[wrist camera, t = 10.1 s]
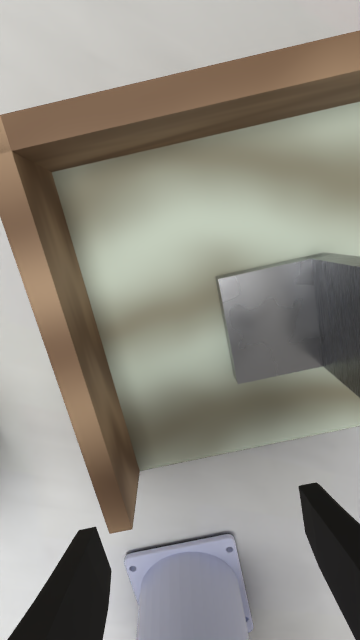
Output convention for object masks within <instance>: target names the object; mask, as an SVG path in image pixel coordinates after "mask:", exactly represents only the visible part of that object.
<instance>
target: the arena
mask: <svg viewBox="0 0 360 640" xmlns="http://www.w3.org/2000/svg"><path fill="white" fill-rule="evenodd" d="M0 217H1V220H2V223H3V226H4V228H5V231H6V234H7V237H8V240H9V243H10V246H11V249H12V252H13V255H14V258H15V260H16V263H17V266H18V269H19V272H20V275H21V278H22V281H23V284H24V287H25V289H26V292H27V295H28V298H29V301H30V304H31V307H32V310H33V313H34V316H35V318H36V321H37V324H38V327H39V330H40V333H41V336H42V339H43V342H44V345H45V348H46V350H47V353H48V356H49V359H50V362H51V365H52V368H53V371H54V374H55V377H56V379H57V382H58V385H59V388H60V391H61V394H62V397H63V400H64V403H65V406H66V409H67V411H68V414H69V417H70V420H71V423H72V426H73V429H74V432H75V435H76V438H77V440H78V443H79V446H80V449H81V452H82V455H83V458H84V461H85V464H86V467H87V470H88V472H89V475H90V478H91V481H92V484H93V487H94V490H95V493H96V496H97V499H98V501H99V504H100V507H101V510H102V513H103V516H104V519H105V522H106V525H107V528H108V531H109V533H110V534H111V533H116V532H121V531H126V530H131V529H132V528H133V520H134V512H135V504H136V496H137V488H138V480H139V472H140V471H143V470H148V469H152V468H157V467H162V466H167V465H172V464H177V463H182V462H187V461H191V460H196V459H201V458H206V457H211V456H216V455H221V454H226V453H230V452H235V451H240V450H245V449H250V448H255V447H260V446H265V445H269V444H274V443H279V442H284V441H289V440H294V439H299V438H304V437H308V436H313V435H318V434H323V433H328V432H333V431H338V430H343V429H348V428H352V427H357V426H360V398H359V397H358V396H357V395H356V394H355V393H353V392H352V391H351V390H350V389H349V388H348V387H346V386H345V385H344V384H343V383H342V382H341V381H339V380H338V379H337V378H336V377H335V376H334V375H332V374H331V373H330V372H329V371H328V370H327V369H325V368H324V367H323V366H322V367H318V368H313V369H308V370H304V371H299V372H294V373H289V374H285V375H280V376H275V377H271V378H266V379H261V380H256V381H252V382H247V383H242V384H237V382H236V379H235V377H234V375H233V369H232V364H231V359H230V353H229V348H228V343H227V337H226V332H225V327H224V322H223V316H222V311H221V306H220V300H219V295H218V290H217V284H216V279H215V276H219V275H223V274H228V273H232V272H237V271H241V270H246V269H250V268H255V267H260V266H264V265H269V264H273V263H278V262H282V261H287V260H291V259H296V258H300V257H305V256H309V255H314V254H318V253H323V252H326V253H334V254H343V255H352V256H360V31H356V32H351V33H347V34H343V35H339V36H334V37H330V38H326V39H322V40H317V41H313V42H309V43H305V44H300V45H296V46H292V47H287V48H283V49H279V50H275V51H270V52H266V53H262V54H258V55H253V56H249V57H245V58H241V59H236V60H232V61H228V62H224V63H219V64H215V65H211V66H207V67H202V68H198V69H194V70H190V71H185V72H181V73H177V74H173V75H168V76H164V77H160V78H156V79H151V80H147V81H143V82H139V83H134V84H130V85H126V86H122V87H117V88H113V89H109V90H105V91H100V92H96V93H92V94H88V95H83V96H79V97H75V98H71V99H66V100H62V101H58V102H54V103H49V104H45V105H41V106H37V107H32V108H28V109H24V110H20V111H15V112H11V113H7V114H2V115H0Z"/></svg>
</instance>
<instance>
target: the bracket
mask: <svg viewBox="0 0 360 640" xmlns="http://www.w3.org/2000/svg"><path fill="white" fill-rule="evenodd" d="M215 279H216V284H217V290H218V295H219V300H220V306H221V311H222V316H223V322H224V327H225V332H226V337H227V343H228V348H229V353H230V359H231V364H232V369H233V375H234V377H235V379H236V382H237V384H242V383H247V382H252V381H256V380H261V379H266V378H271V377H275V376H280V375H285V374H289V373H294V372H299V371H304V370H308V369H313V368H318V367H322V366H323V367H324V368H325V369H327V370H328V371H329V372H330V373H331V374H332V375H334V376H335V377H336V378H337V379H338V380H339V381H341V382H342V383H343V384H344V385H345V386H346V387H348V388H349V389H350V390H351V391H352V392H353V393H355V394H356V395H357V396H358V397H359V398H360V256H352V255H343V254H334V253H326V252H323V253H318V254H314V255H309V256H305V257H300V258H296V259H291V260H287V261H282V262H278V263H273V264H269V265H264V266H260V267H255V268H250V269H246V270H241V271H237V272H232V273H228V274H223V275H219V276H215Z"/></svg>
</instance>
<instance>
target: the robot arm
mask: <svg viewBox="0 0 360 640" xmlns="http://www.w3.org/2000/svg"><path fill="white" fill-rule="evenodd" d="M299 492H300V499H301V506H302V513H303V520H304V527H305V533H306V535H307V538H308V540H309V543H310V546H311V548H312V551H313V553H314V556H315V558H316V561H317V563H318V566H319V568H320V570H321V572H322V574H323V576H324V578H325V580H326V582H327V584H328V586H329V588H330V590H331V592H332V594H333V596H334V598H335V600H336V602H337V604H338V606H339V608H340V610H341V612H342V613H343V615H344V617H345V619H346V621H347V623H348V625H349V627H350V629H351V631H352V633H353V635H354V637H355V639H356V640H360V524H359V523H358V522H357V521H356V520H355V519H354V518H353V517H352V516H351V515H349V514H348V513H347V512H346V511H345V510H344V509H343V508H342V507H341V506H340V505H339V504H338V503H337V502H336V501H335V500H334V499H333V498H332V497H331V496H330V495H329V494H328V493H327V492H326V491H325V490H324V489H323V488H322V487H321V486H320V485H319V484H318V483H311V484H306V485H301V486H299ZM124 564H125V567H126V570H127V573H128V576H129V579H130V582H131V585H132V588H133V591H134V594H135V597H136V600H137V603H138V606H139V613H138V626H137V638H136V640H249V635H248V633H249V632H251V631H252V630H253V622H252V617H251V613H250V608H249V604H248V599H247V594H246V590H245V585H244V581H243V576H242V571H241V567H240V562H239V557H238V553H237V548H236V544H235V539H234V537H233V536H232V535H230V534H225V535H220V536H215V537H210V538H205V539H200V540H195V541H189V542H184V543H179V544H174V545H169V546H164V547H159V548H154V549H149V550H144V551H139V552H134V553H130V554H127V555H126V556H125V560H124ZM110 583H111V568H110V565H109V562H108V560H107V557H106V554H105V551H104V548H103V546H102V543H101V540H100V537H99V534H98V531H97V529H96V527H92V528H88V529H83V530H79V531H78V532H77V534H76V536H75V537H74V539H73V540H72V542H71V544H70V545H69V547H68V548H67V550H66V552H65V553H64V555H63V557H62V558H61V560H60V561H59V563H58V565H57V566H56V568H55V569H54V571H53V573H52V574H51V576H50V577H49V579H48V581H47V582H46V584H45V585H44V587H43V588H42V590H41V591H40V593H39V595H38V596H37V598H36V599H35V601H34V602H33V604H32V605H31V607H30V608H29V610H28V611H27V612H26V614H25V615H24V617H23V618H22V620H21V621H20V623H19V624H18V625H17V627H16V628H15V630H14V631H13V633H12V634H11V635H10V637H9V638H8V640H103V634H104V629H105V623H106V618H107V612H108V605H109V595H110Z"/></svg>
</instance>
